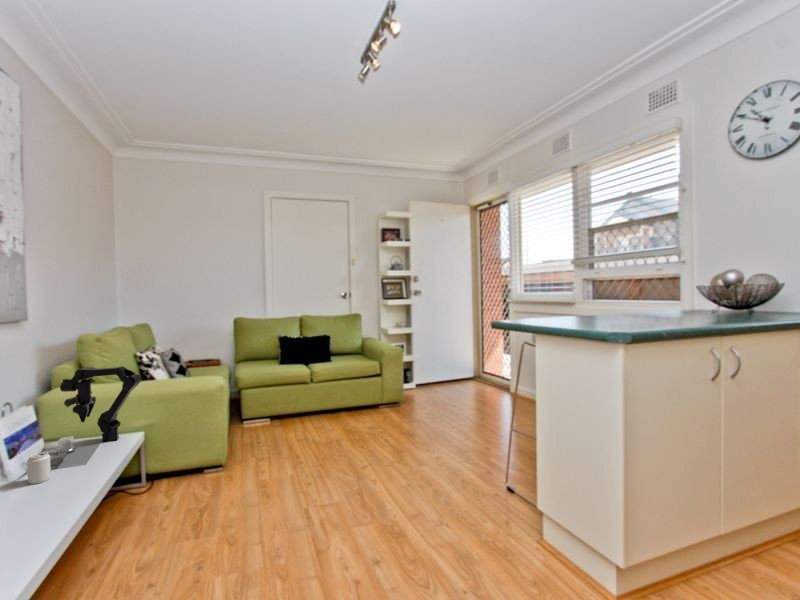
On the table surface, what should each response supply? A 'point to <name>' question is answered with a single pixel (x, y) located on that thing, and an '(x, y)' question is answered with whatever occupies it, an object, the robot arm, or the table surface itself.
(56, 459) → the ratchet
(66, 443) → the socket
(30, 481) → the can
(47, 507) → the table surface
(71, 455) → the mat
